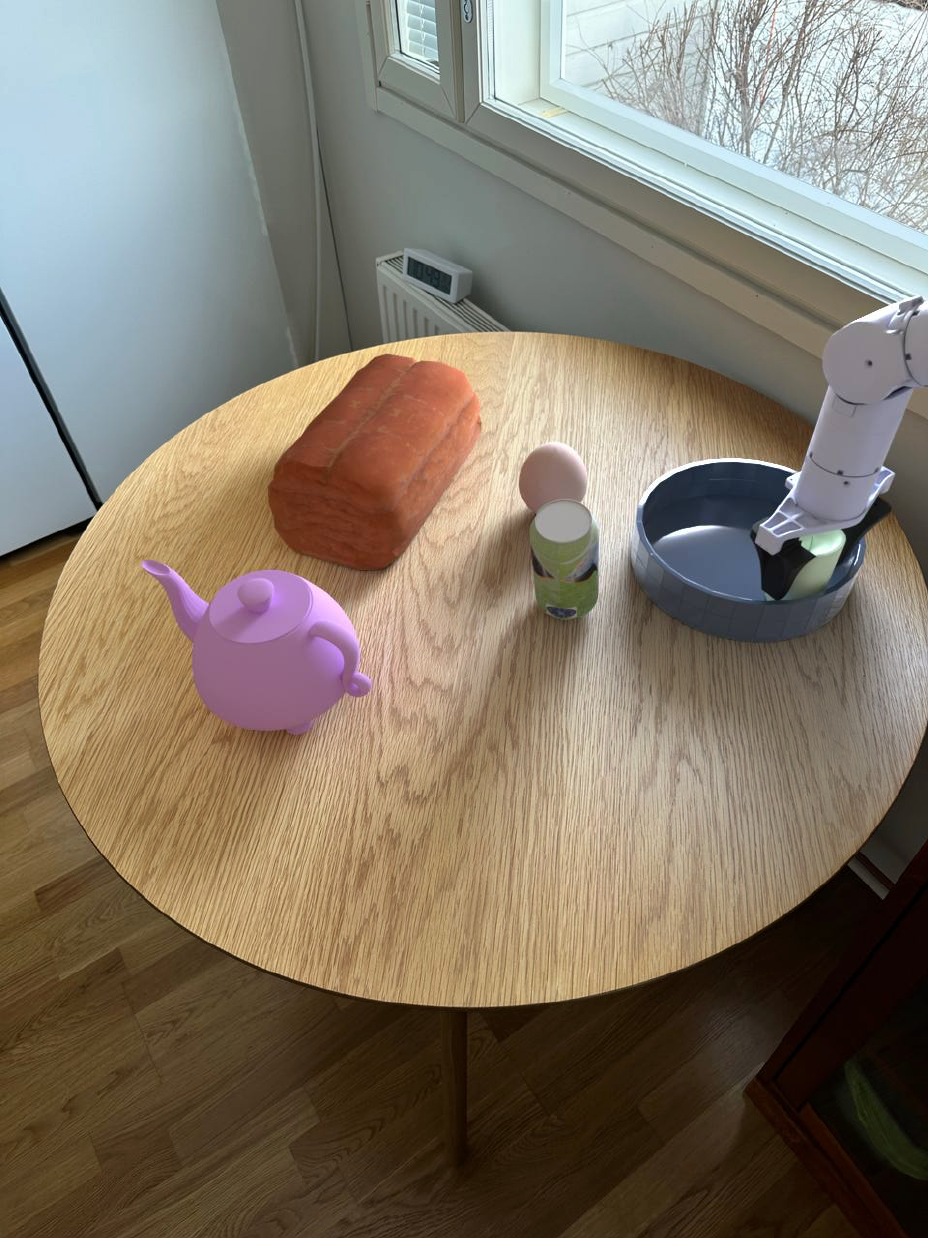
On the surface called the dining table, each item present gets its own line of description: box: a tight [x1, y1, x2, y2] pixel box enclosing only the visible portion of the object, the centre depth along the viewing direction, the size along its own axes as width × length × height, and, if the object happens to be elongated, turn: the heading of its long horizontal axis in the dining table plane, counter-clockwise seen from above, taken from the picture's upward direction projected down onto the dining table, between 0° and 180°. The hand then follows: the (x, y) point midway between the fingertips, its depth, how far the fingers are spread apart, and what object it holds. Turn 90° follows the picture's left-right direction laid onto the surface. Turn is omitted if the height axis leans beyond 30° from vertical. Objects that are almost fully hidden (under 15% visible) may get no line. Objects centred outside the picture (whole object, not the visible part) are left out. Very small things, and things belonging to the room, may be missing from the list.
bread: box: [267, 353, 482, 571], centre depth 89 cm, size 16×27×11 cm, turn 158°
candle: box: [765, 529, 846, 601], centre depth 75 cm, size 5×5×8 cm
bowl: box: [630, 457, 867, 643], centre depth 81 cm, size 21×21×5 cm
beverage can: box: [528, 499, 600, 621], centre depth 75 cm, size 6×7×12 cm
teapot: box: [141, 559, 373, 736], centre depth 70 cm, size 20×14×12 cm
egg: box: [518, 441, 588, 515], centre depth 86 cm, size 7×7×8 cm
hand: (800, 576), depth 76 cm, fingers open, 7 cm apart
